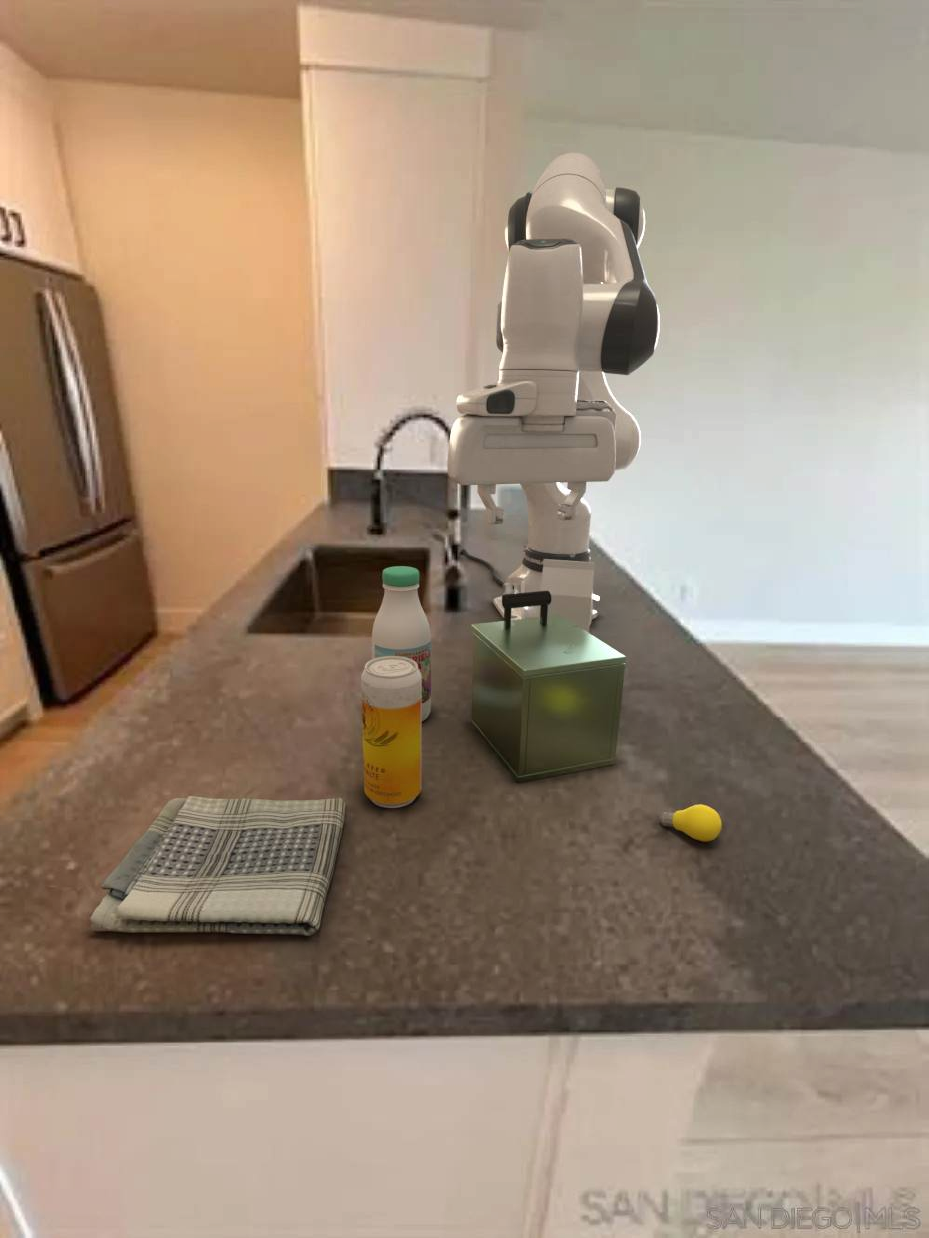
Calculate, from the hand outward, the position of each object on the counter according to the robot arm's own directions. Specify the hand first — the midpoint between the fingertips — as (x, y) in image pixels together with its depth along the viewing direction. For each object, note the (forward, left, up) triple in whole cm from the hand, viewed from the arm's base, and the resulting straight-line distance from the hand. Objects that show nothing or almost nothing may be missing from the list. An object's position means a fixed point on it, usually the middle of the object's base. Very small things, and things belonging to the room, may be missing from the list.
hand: (530, 521), depth 80 cm
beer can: (+11, -20, -27) cm, 35 cm away
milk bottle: (-7, -14, -27) cm, 31 cm away
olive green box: (+6, 0, -27) cm, 27 cm away
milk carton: (-9, +11, -27) cm, 31 cm away
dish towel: (+17, -37, -27) cm, 49 cm away
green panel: (+5, 0, -14) cm, 15 cm away
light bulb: (+27, +6, -27) cm, 38 cm away
